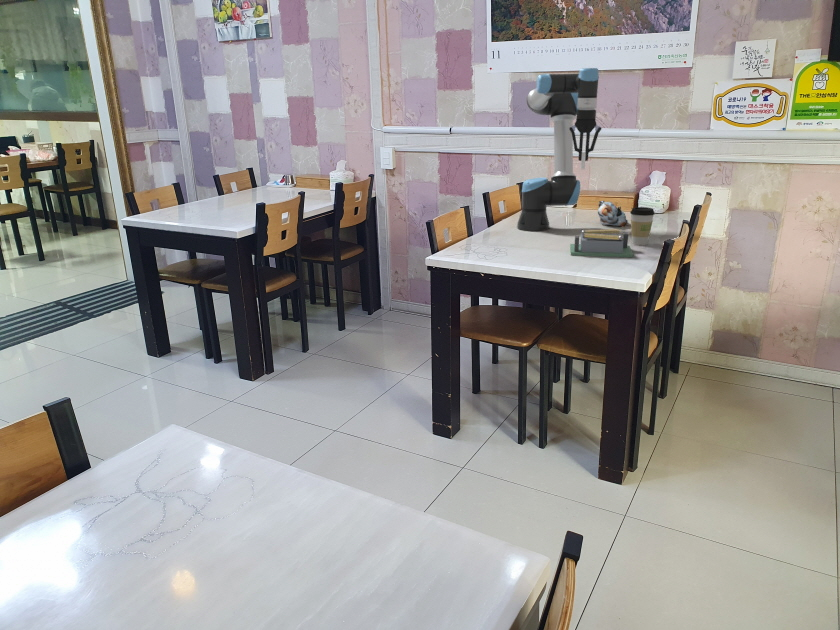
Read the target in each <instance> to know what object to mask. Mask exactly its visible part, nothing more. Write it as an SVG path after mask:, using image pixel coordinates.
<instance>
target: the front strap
mask: <svg viewBox="0 0 840 630" xmlns="http://www.w3.org/2000/svg"><path fill="white" fill-rule="evenodd" d="M584 237H589V238H602V239H616V240H620V241H622V240H623V234H621V235H619V236H617V235H603V234H590V233H585V234H584Z"/></svg>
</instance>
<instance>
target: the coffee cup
mask: <svg viewBox="0 0 840 630" xmlns="http://www.w3.org/2000/svg"><path fill="white" fill-rule="evenodd" d="M629 213H630V215H631V219H630V230H631V231H630V233H631V244H632V245H634V246H647V245H648V243H649V242H648V241H649V237H650V235H651V230H652V225H653V220H654V215H655V213H656V212H655V210H654V208H653V207H647V206H646V207H645V206H635V207H633V208H632V209H631V210H630V212H629Z"/></svg>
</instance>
